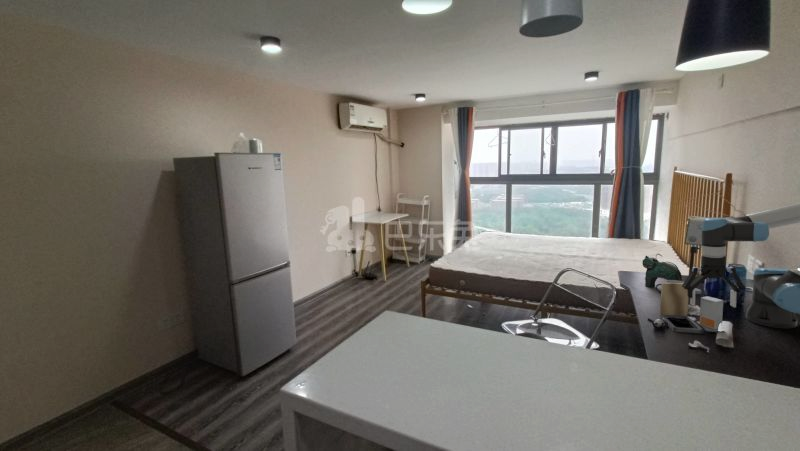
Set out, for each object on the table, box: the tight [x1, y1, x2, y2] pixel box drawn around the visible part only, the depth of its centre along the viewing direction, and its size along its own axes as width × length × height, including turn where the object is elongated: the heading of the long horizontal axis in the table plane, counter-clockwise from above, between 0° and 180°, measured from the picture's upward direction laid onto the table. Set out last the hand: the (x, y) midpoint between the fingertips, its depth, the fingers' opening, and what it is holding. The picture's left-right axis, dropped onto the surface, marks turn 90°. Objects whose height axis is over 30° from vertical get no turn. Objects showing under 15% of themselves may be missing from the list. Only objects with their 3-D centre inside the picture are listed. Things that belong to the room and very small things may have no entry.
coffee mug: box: [655, 280, 685, 294], centre depth 177 cm, size 12×9×10 cm
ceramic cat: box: [642, 253, 684, 288], centre depth 194 cm, size 20×6×20 cm, turn 17°
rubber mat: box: [695, 320, 718, 333], centre depth 147 cm, size 6×9×1 cm, turn 161°
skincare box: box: [698, 295, 724, 329], centre depth 146 cm, size 6×4×12 cm
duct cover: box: [659, 282, 690, 316], centre depth 157 cm, size 10×15×1 cm
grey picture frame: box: [660, 314, 705, 334], centre depth 151 cm, size 10×15×2 cm, turn 161°
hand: (712, 305), depth 146 cm, fingers open, 13 cm apart
